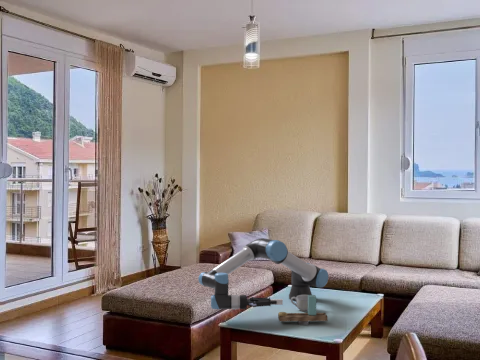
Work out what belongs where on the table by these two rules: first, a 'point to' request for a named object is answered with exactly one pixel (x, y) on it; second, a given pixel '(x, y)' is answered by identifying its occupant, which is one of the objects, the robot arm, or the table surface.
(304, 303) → the teacup
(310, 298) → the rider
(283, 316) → the beam
